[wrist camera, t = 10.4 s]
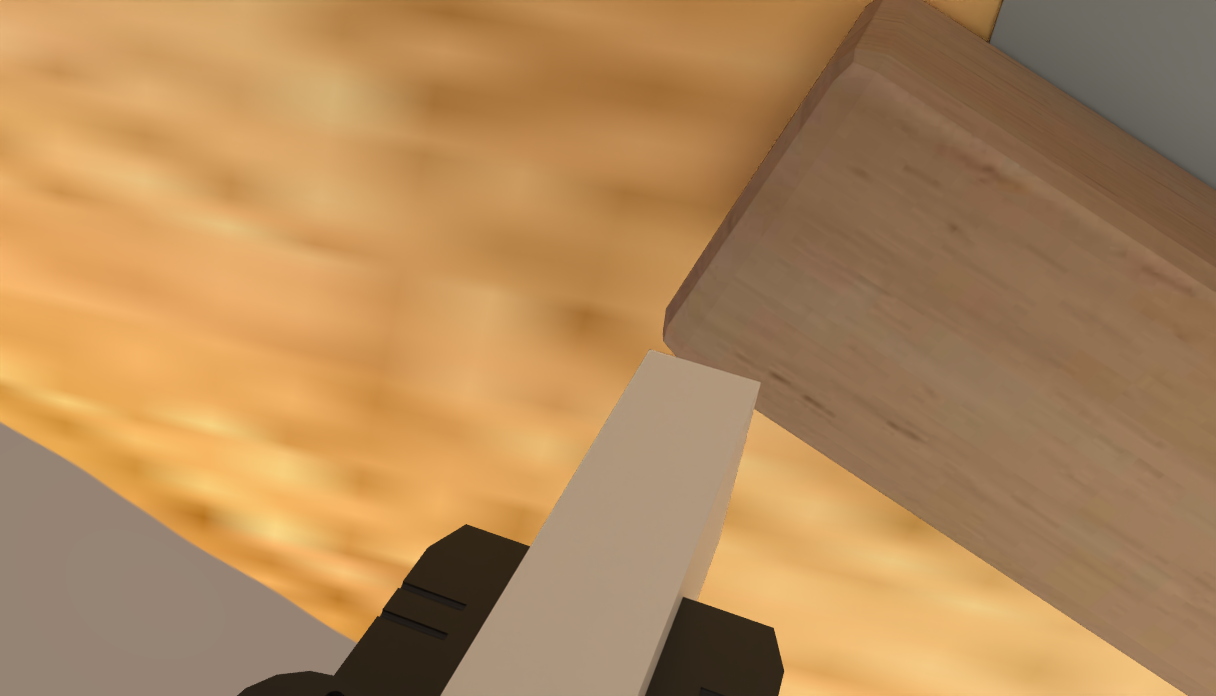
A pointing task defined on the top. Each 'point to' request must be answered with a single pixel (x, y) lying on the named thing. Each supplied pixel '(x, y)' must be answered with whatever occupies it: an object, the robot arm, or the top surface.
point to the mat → (1127, 66)
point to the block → (988, 324)
